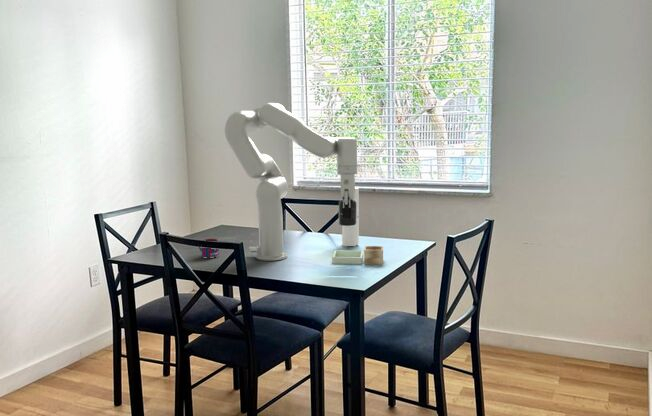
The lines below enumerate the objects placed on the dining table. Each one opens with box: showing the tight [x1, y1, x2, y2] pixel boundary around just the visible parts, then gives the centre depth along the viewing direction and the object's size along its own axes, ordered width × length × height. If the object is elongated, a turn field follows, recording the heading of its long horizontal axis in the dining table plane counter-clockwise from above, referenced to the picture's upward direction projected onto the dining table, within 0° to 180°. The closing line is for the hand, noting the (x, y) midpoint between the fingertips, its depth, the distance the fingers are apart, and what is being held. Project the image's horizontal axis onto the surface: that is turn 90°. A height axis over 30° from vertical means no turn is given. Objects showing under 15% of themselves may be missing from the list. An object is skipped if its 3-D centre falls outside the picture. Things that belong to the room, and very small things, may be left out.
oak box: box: [363, 245, 384, 265], centre depth 234 cm, size 7×7×6 cm
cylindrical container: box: [341, 186, 360, 247], centre depth 264 cm, size 7×7×25 cm
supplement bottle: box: [338, 199, 357, 226], centre depth 234 cm, size 7×7×12 cm
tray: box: [332, 249, 364, 265], centre depth 237 cm, size 11×11×3 cm
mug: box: [198, 238, 220, 258], centre depth 247 cm, size 7×10×7 cm
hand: (347, 216), depth 235 cm, fingers closed on supplement bottle, 6 cm apart
